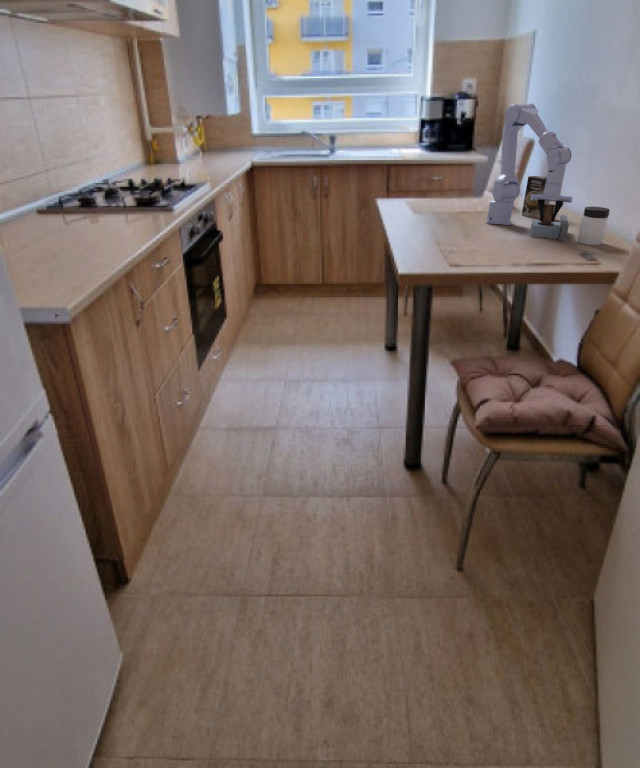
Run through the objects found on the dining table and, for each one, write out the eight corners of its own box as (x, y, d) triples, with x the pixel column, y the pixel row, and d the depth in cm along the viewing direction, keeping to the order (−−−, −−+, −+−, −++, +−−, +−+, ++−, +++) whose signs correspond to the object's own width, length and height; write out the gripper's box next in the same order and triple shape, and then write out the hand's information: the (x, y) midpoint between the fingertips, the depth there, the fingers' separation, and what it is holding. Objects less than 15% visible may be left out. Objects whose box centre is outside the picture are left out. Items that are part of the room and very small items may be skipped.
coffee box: (520, 215, 251) (527, 176, 243) (528, 213, 254) (535, 175, 247) (539, 218, 245) (547, 179, 237) (547, 217, 248) (555, 177, 241)
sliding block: (530, 236, 215) (532, 225, 213) (530, 230, 224) (532, 220, 222) (558, 238, 213) (560, 227, 211) (557, 233, 221) (559, 222, 219)
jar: (607, 244, 206) (616, 210, 201) (591, 246, 203) (599, 211, 197) (587, 238, 213) (595, 205, 208) (571, 240, 210) (578, 207, 205)
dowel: (540, 227, 216) (544, 205, 212) (540, 225, 219) (544, 203, 215) (550, 227, 215) (555, 205, 211) (550, 226, 218) (554, 204, 214)
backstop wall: (559, 241, 209) (562, 224, 206) (557, 230, 224) (560, 215, 222) (565, 241, 209) (568, 224, 206) (563, 231, 224) (566, 215, 221)
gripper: (533, 183, 208) (526, 221, 214) (575, 186, 204) (567, 224, 210) (533, 180, 214) (526, 218, 220) (574, 183, 210) (566, 221, 216)
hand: (546, 221), depth 216 cm, fingers closed on dowel, 4 cm apart
